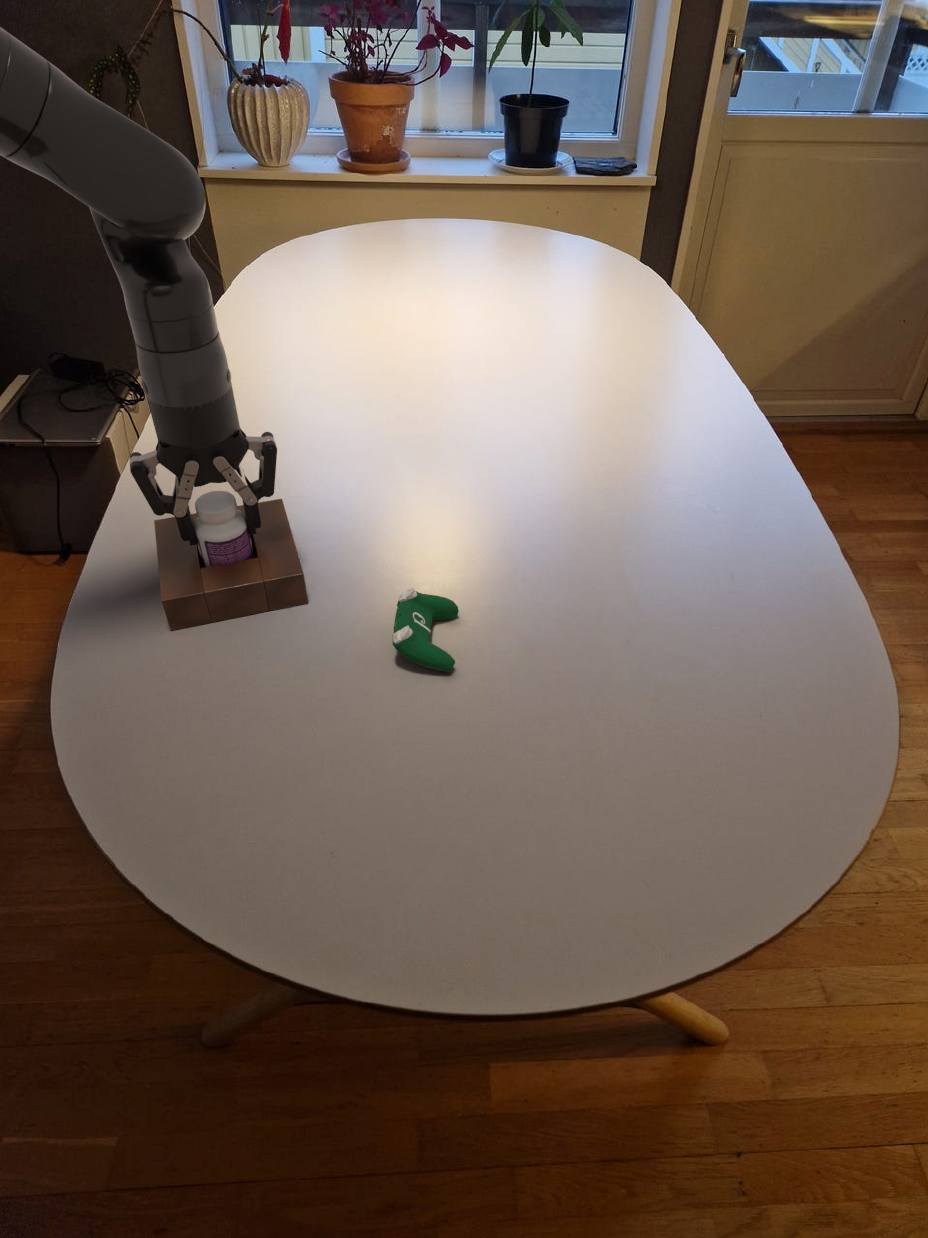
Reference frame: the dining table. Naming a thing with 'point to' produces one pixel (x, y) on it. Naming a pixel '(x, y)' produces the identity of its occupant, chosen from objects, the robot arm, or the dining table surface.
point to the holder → (229, 573)
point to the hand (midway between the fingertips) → (222, 534)
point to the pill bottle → (221, 530)
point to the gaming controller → (422, 628)
